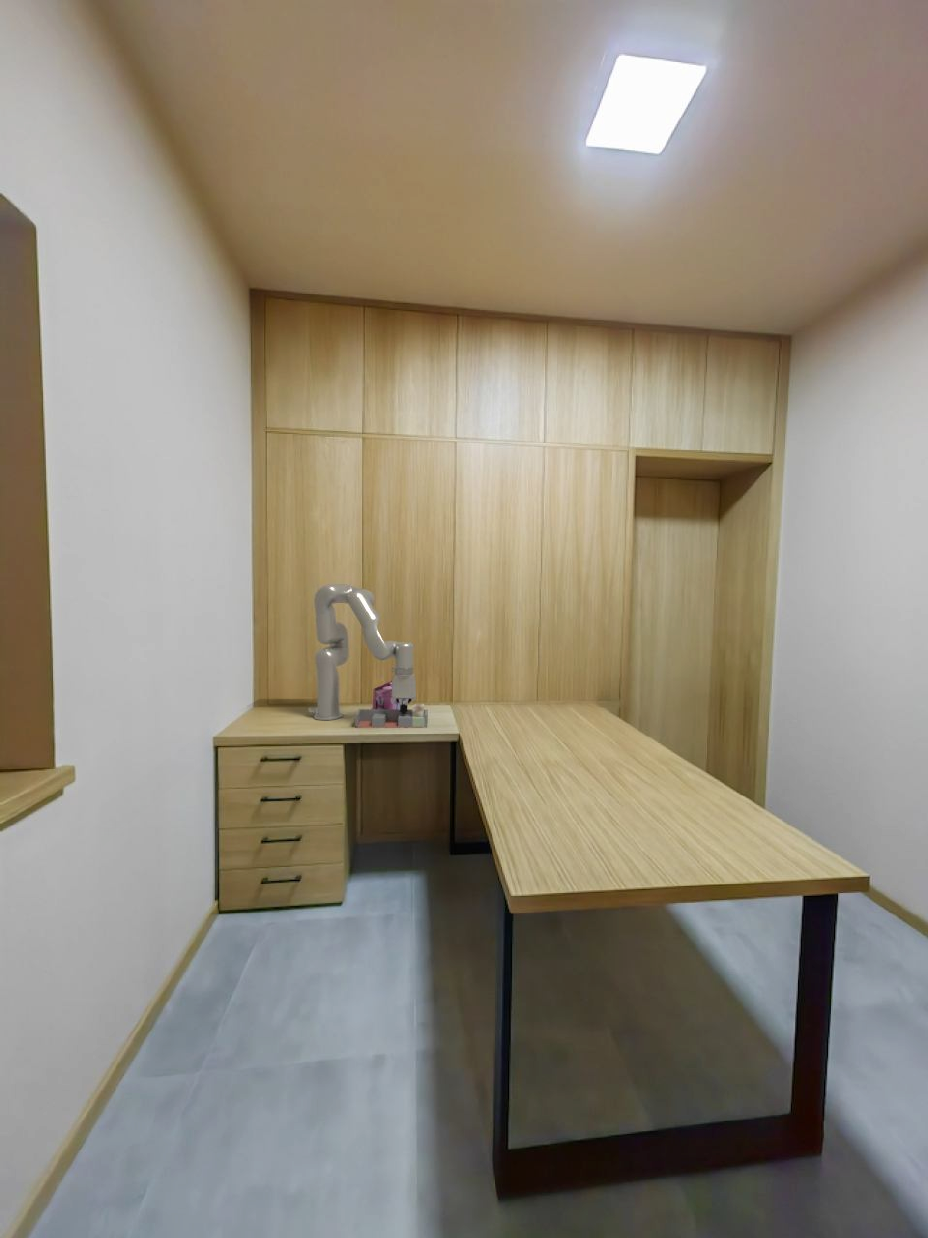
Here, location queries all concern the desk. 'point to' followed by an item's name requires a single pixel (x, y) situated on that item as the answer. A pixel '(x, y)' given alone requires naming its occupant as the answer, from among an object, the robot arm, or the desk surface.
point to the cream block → (418, 710)
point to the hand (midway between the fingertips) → (403, 713)
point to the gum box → (384, 697)
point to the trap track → (389, 719)
